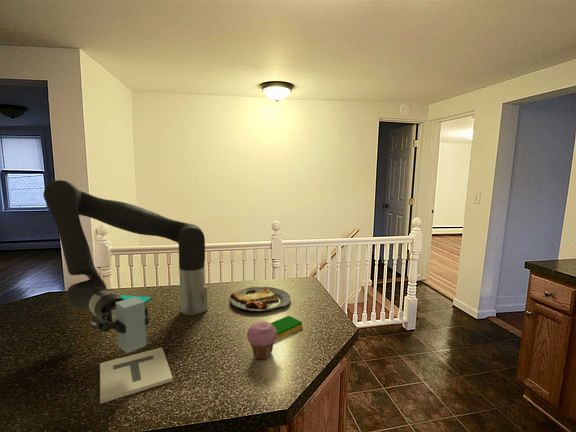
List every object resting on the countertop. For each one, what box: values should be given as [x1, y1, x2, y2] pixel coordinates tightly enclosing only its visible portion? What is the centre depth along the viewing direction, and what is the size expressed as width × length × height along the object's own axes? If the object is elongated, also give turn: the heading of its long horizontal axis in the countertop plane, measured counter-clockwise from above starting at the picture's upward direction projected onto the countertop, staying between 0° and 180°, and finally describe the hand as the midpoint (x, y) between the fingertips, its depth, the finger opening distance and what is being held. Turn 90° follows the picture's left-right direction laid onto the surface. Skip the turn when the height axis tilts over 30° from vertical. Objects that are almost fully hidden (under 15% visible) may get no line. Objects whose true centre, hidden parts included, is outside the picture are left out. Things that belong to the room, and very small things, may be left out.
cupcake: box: [246, 320, 277, 360], centre depth 92 cm, size 9×9×10 cm
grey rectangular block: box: [116, 297, 147, 354], centre depth 82 cm, size 5×5×12 cm
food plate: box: [228, 286, 291, 312], centre depth 130 cm, size 25×23×4 cm
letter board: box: [99, 347, 174, 404], centre depth 84 cm, size 16×16×1 cm
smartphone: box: [118, 294, 153, 305], centre depth 130 cm, size 7×1×15 cm
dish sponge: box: [269, 315, 303, 341], centre depth 107 cm, size 7×14×2 cm, turn 133°
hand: (135, 325), depth 80 cm, fingers closed on grey rectangular block, 5 cm apart
